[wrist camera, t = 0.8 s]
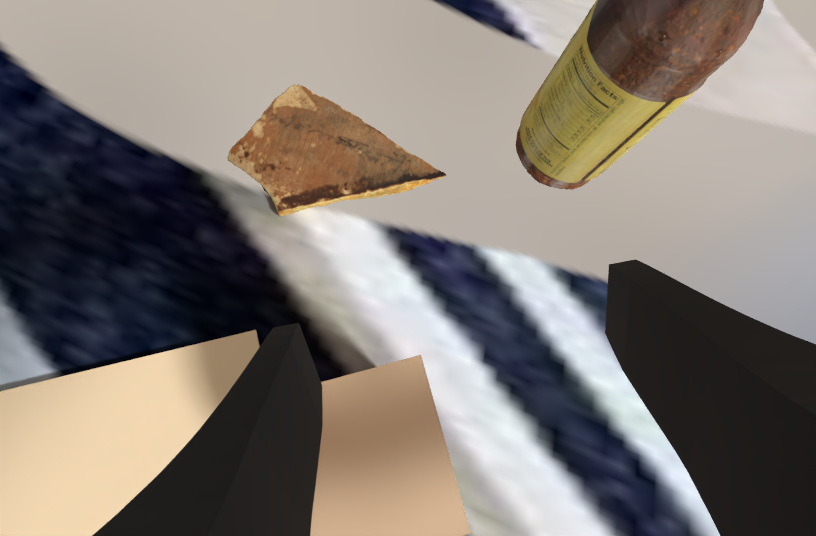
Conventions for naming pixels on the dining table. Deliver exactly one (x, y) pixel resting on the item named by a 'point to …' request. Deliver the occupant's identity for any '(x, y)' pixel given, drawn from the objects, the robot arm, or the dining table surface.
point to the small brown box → (384, 458)
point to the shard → (323, 155)
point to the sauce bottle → (625, 81)
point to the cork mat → (106, 433)
